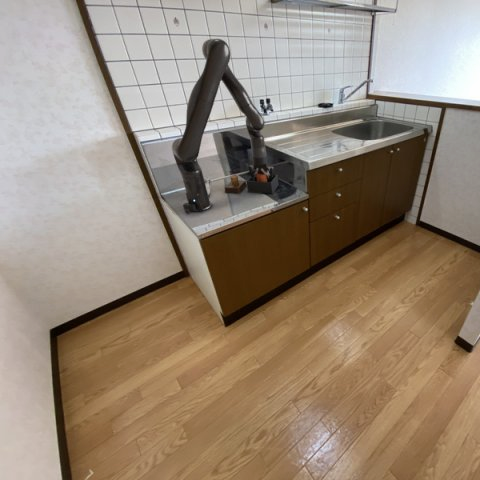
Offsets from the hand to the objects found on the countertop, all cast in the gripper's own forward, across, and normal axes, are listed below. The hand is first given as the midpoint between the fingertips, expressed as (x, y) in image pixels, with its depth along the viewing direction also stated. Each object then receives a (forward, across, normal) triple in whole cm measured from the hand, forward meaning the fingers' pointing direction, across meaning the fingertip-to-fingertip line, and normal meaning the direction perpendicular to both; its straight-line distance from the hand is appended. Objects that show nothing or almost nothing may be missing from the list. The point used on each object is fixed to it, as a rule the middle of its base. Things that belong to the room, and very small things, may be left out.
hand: (263, 184), depth 153 cm
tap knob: (0, -15, -3) cm, 16 cm away
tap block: (+3, -16, -3) cm, 16 cm away
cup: (+2, 0, 0) cm, 2 cm away
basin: (+3, 0, 0) cm, 3 cm away
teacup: (+3, -30, -14) cm, 33 cm away
